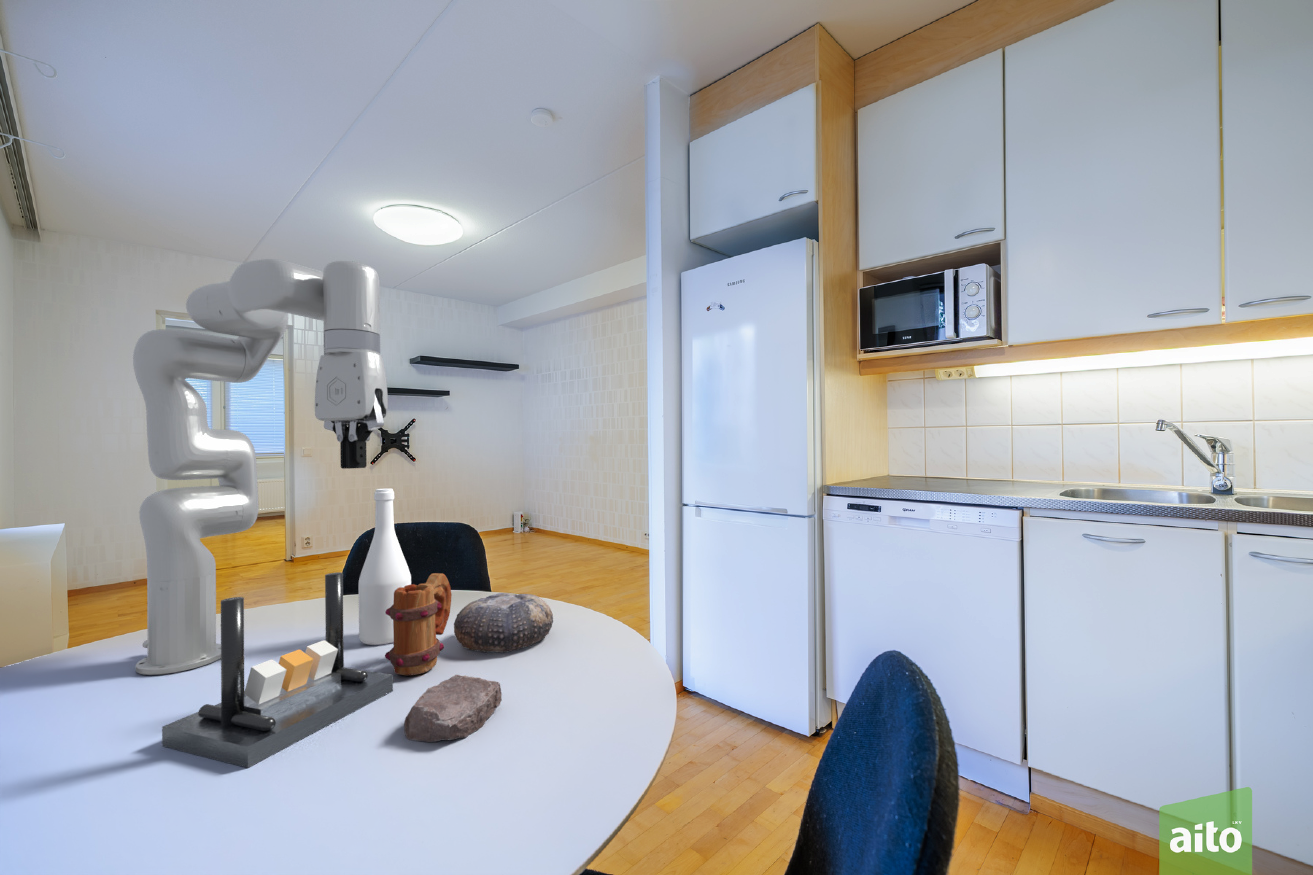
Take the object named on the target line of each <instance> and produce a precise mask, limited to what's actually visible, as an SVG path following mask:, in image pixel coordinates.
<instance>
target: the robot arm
mask: <svg viewBox="0 0 1313 875" xmlns="http://www.w3.org/2000/svg"><path fill="white" fill-rule="evenodd" d="M380 284H381V282H380V277H379V273H378V272H377V270H376V269H375V268H374V267H372V266H370V265H368V264H366V263H362V262H357V261H351V260H336V261H331V262H329V263H327V264H326V265H325V267H324V269H323V270H320V269H316V268H313V267H309V266H306V265H302V264H299V263H297V262H295V263H294V262H292V261H289V260H288V261H287V260H284V259H279V258H263V259H262V258H261V259H256V260H251V261H245V262H242V263H240V264H239V265H238V266H237V267H236V268H235V269H234V271H233V273H232V274H231V276H230V279H229V280H228V281H222V282H216V283H209V284H205V285H202V286H200V287H198V288H195V289H194V290H193V291H192V292H191V293H190V294H189V295H188V297H187V298H186V303H185V308H186V312H187V313H188V317H190V319H191V320H192V321H193V322H194V323H195V324H196V325H198V326H200V327H201V328H203V329H205V330H207V331H209V332H213V333H218V334H223V335H230V336H234V337H237V338H232V337H226V336H225V337H224V336H219V335H213V334H208V333H201V332H197V331H189V330H183V329H182V330H181V329H174V328H173V329H168V328H164V329H163V328H162V329H153V330H150V331H146V332H144V333H143V334H142V335H141V336H140V337H139V338H138V339H137V342H135V346H134V349H133V355H132V356H133V357H132V366H133V370H134V371H133V372H134V375H135V379H136V381H137V384H138V386H139V389H140V392H141V394H142V397H143V400H144V404H145V410H146V412H145V414H146V419H145V420H146V436H147V438H146V440H147V441H146V442H147V455H148V465H149V467H150V471H151V472H152V474H153V475H154V476H155V477H157V479H158V478H159V479H161V480H167V481H190V480H212V479H217V481H218V484H219V485H209V486H208V485H206V486H205V485H204V486H202V485H201V486H200V485H199V486H186V487H184V486H183V487H173V488H167V489H162V490H158V491H157V492H154V493H152V494H150V495H148V496H147V497H146V498H144V500H143V501H142V503H141V505H140V508H139V512H138V513H139V514H138V515H139V523H140V527H141V531H142V535H143V540H144V545H145V553H146V554H145V555H146V580H147V582H146V583H147V584H146V585H147V590H146V592H147V594H146V595H147V603H146V604H147V606H146V608H147V610H146V613H147V618H146V620H147V632H146V635H147V640H144V641H143V642H142V648H145V649H146V650H147V651H146V652H147V656H146V657H144V658H142V659H140V660H138V661H137V663H135V672H136V673H138V674H139V675H144V676H145V675H147V676H153V675H154V676H155V675H159V676H160V675H167V674H173V673H174V674H175V673H179V672H183V671H188V670H192V669H196V668H200V667H203V666H206V665H209V664H211V663H215V662H216V661H218V660H221V643H217V584H216V583H217V574H216V573H217V569H216V568H217V567H216V566H217V564H216V559H215V556H214V555H213V553H212V552H211V551H210V549H208V548H207V547H206V546H205V545H204V544H203V543H202V541H201V539H205V538H208V537H214V536H215V537H217V536H222V535H223V536H224V535H230V534H236V533H241V532H244V531H247V530H249V529H250V528H252V527H253V526H254V525H255V523H256V521H257V519H258V515H259V487H258V485H259V484H258V470H257V468H258V467H257V457H256V456H257V454H256V450H255V447H254V445H253V443H252V440H251V439H250V438H249V437H248V436H247V435H246V434H245V433H243V432H241V431H239V430H234V429H214V428H213V429H212V428H210V427H209V424H208V409H207V404H206V402H205V400H204V398H203V397H202V396H201V395H200V394H199V391H197V390H196V388H194V387H193V385H192V384H190V383H189V382H188V381H187V380H186V379H191V380H193V379H194V380H205V381H213V382H214V381H215V382H222V383H223V382H224V383H232V384H235V383H236V384H239V383H240V384H242V383H246V382H248V381H251V380H252V379H254V378H255V377H256V376H257V375H258V374H259V372H260V371H261V369H262V368H263V367H264V365H265V363H266V362H267V360H268V359H269V358H270V356H271V354H272V353H273V351H274V350H275V348H276V347H277V346H278V344H279V343H280V341H281V339H282V338H283V336H284V334H285V332H286V329H287V326H288V319H289V317H288V314H289V315H290V314H291V315H295V316H299V317H303V318H307V319H308V318H309V319H313V320H316V321H322V322H323V354H322V355H320V357H319V362H318V364H317V365H318V366H317V372H316V380H315V389H314V416H315V418H316V419H317V420H318V421H322V422H323V429H325V430H328V431H330V432H331V431H332V432H334V434H335V436H336V440H337V442H339V443H340V445H339V447H340V449H339V450H340V451H339V452H340V454H339V455H340V468H341V469H343V470H345V469H350V470H351V469H366V467H367V465H368V464H367V463H368V462H367V442H369V441H370V440H371V434H372V433H373V432H374V431H375V430H378V429H380V428H383V427H384V425H385V422H384V418H386V416H387V414H388V408H389V407H388V405H389V404H388V403H389V402H388V401H389V399H388V398H389V396H388V384H387V374H386V368H385V362H384V359H383V355H381V306H380V305H381V299H380V298H381V297H380V295H381V293H380V292H381V291H380Z"/></svg>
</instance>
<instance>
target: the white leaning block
mask: <svg viewBox="0 0 1313 875" xmlns="http://www.w3.org/2000/svg"><path fill="white" fill-rule="evenodd" d="M337 651H338V649H337V648H335V647H334V646H332V645H331V644H329V643H328V642H326V639H324V640H321V641H318V642H315V643H312V644H310V645H307V646H306V650H305V652H304V653H306V654H307V655H308V656H310V657H311V658H313V663H312V666H311V669H310V673H309V676H308V677H310V678H311V679H312V680H316V679H319V678H321V677H323V676H325V675H328V674H330V673H331V671H332V668H333V665H334V661H335V658H336V655H337Z"/></svg>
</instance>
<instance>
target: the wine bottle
mask: <svg viewBox="0 0 1313 875" xmlns="http://www.w3.org/2000/svg"><path fill="white" fill-rule="evenodd" d="M373 499H374V501H375V514H374V516H375V521H374V523H375V524H374V527H375V528H374V533H373V537H372V540H371V543H370V545H369V546H370V547H369V548H368V549H369V550H368V551H367V554H366V558H365V561H364V563H363V566H362V569H361V572H360V574H359V578H358V579H359V580H358V637H359V640H360V641H361V643H363V644H364V645H369V646H380V645H381V646H382V645H388V644H389V645H390V644H394V630H393V619H391V618H390V616H389V615H387V614H386V613H385V611H386V610H387V609H388V608H390V607H391V606H392V605H393V604H394V591H395V590H396V589H397V588H399V587H403V588H404V587H405V586H407V585H411V584H412V574H411V572H410V568H409V566H408V563H407V560H406V558H405V556H404V553H403V551H402V548H401V544H400V543H399V542H400V541H399V540H398V537H397V535H396V530H395V522H394V521H395V518H394V515H395V514H394V500H395V491H394V489H393V488H376V489H375V492H374V493H373Z"/></svg>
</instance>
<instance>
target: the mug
mask: <svg viewBox="0 0 1313 875" xmlns="http://www.w3.org/2000/svg"><path fill="white" fill-rule="evenodd" d="M452 595H453V594H452V589H451V585H450V582H449V580H448V578H447V576H446V575H445V574H444V573H439V572H437V573H436V572H435V573H431V574H430V575H429V576H428V578H427V580H426V582H424V583H419V584H418V585H417V584H415V583H413V584H412V583H411V585H407V586H405V587H404V588H403V587H399V588H397V589H396V590H395V591H394V604H393V605H392V606H391V607H390V608H388V609H387V610H386V611H385V613H386V614H387V615H389V616H390V618H391V619H393V630H394V642H393V647H392V648H391V649H390V650H389V651H387V652H386V653H385V654H384V658H385V659H386V660H388V661H389V662H390V664H391V665H392V666H393V672H394V673H395V674H396V675H400V676H409V677H411V676H416V675H417V676H418V675H420V674H424V673H427V672H429V671H431V670H432V669H433V668H434V667H435V666H436V665H437V663H438V656H439V655H440V653H441V652H442V651H443V650H444V648H445V644H444V643H443V642H441V641H440V640H439V638H437V636H441V635H443V634H444V632H445V629H446V627H447V623H448V620H449V617H450V613H451V607H452Z"/></svg>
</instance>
